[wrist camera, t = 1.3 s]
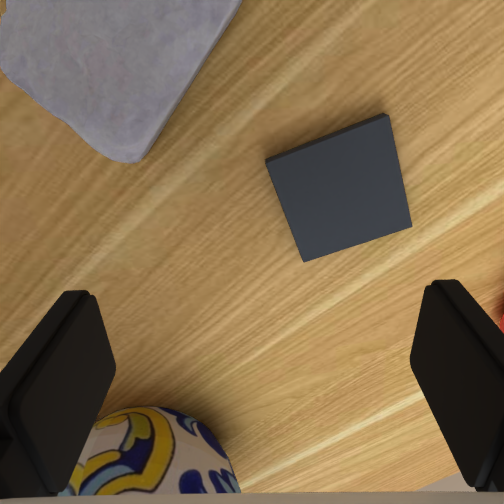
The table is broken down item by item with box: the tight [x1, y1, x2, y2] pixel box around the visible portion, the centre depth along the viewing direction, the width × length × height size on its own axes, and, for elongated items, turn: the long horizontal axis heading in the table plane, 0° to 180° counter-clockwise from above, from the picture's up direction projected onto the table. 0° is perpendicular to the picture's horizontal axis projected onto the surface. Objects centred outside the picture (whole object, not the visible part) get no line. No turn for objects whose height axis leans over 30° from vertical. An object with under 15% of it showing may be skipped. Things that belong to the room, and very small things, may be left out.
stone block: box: [0, 0, 242, 163], centre depth 20 cm, size 12×5×10 cm
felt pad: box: [265, 113, 412, 262], centre depth 26 cm, size 8×8×1 cm
